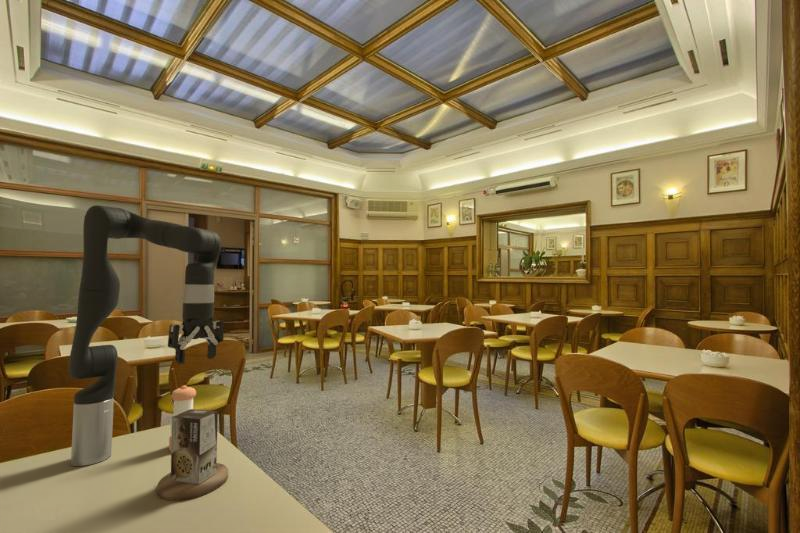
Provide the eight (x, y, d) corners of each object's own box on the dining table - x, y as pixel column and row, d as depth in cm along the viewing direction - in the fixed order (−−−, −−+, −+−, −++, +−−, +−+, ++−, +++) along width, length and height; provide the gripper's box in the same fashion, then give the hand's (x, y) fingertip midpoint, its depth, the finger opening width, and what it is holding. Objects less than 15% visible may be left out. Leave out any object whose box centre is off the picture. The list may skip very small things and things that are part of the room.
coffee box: (217, 473, 97) (219, 410, 98) (198, 485, 91) (200, 418, 92) (189, 468, 100) (191, 408, 101) (168, 480, 94) (171, 415, 95)
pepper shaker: (175, 442, 121) (177, 383, 122) (199, 441, 122) (200, 382, 123) (164, 452, 114) (166, 389, 115) (189, 450, 115) (190, 388, 116)
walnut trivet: (143, 489, 92) (143, 483, 92) (203, 463, 106) (203, 457, 106) (181, 507, 85) (182, 500, 85) (241, 476, 99) (241, 470, 99)
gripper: (180, 302, 93) (178, 367, 92) (230, 300, 105) (228, 358, 104) (163, 301, 96) (161, 364, 96) (214, 300, 109) (211, 355, 108)
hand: (196, 361), depth 100 cm, fingers open, 8 cm apart
